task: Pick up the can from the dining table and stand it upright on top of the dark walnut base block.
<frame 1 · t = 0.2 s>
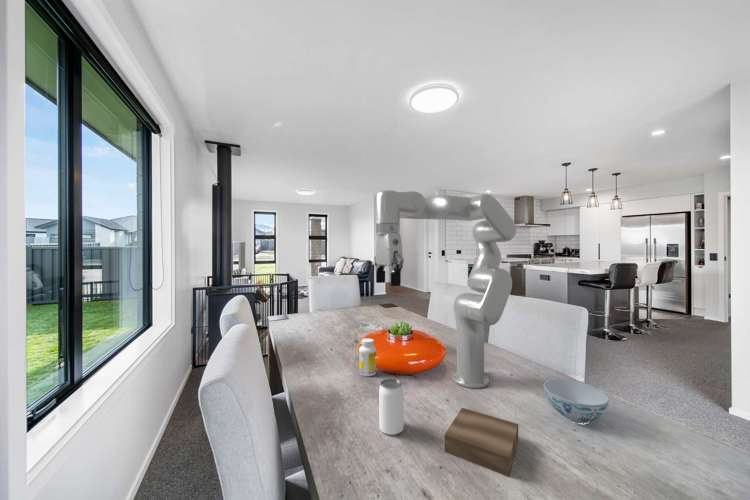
hand: (387, 284, 92), 37 cm above the table, tool pointing down, fingers open, 9 cm apart
chinaware: (574, 418, 81), on the table
can: (391, 429, 77), on the table
supplement bottle: (367, 373, 111), on the table
base: (482, 445, 70), on the table
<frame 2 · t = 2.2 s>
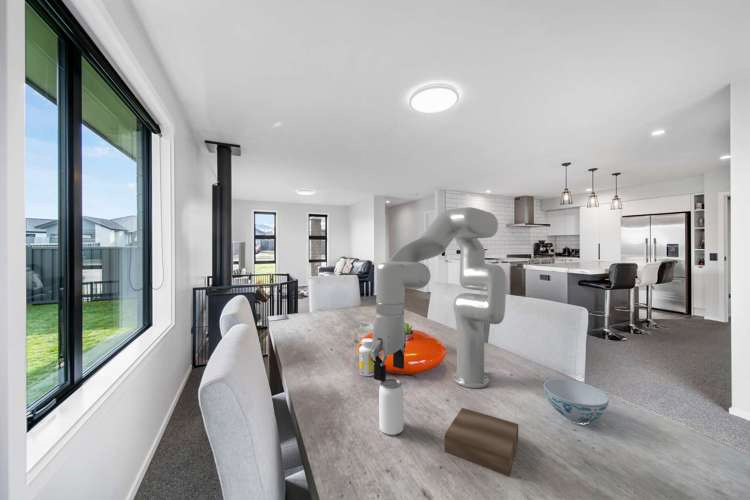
hand: (389, 373, 77), 15 cm above the table, tool pointing down, fingers open, 9 cm apart
nothing on the table moved.
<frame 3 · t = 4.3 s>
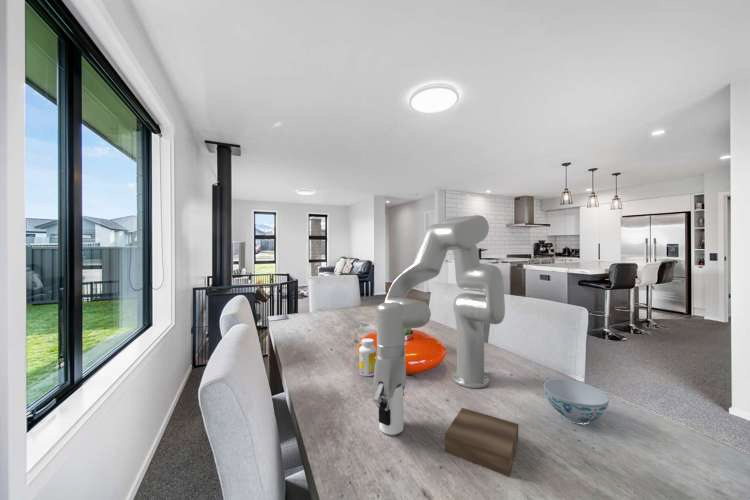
hand: (391, 416, 77), 3 cm above the table, tool pointing down, fingers closed on can, 6 cm apart
can: (391, 429, 77), on the table, touching gripper
everything else where it was.
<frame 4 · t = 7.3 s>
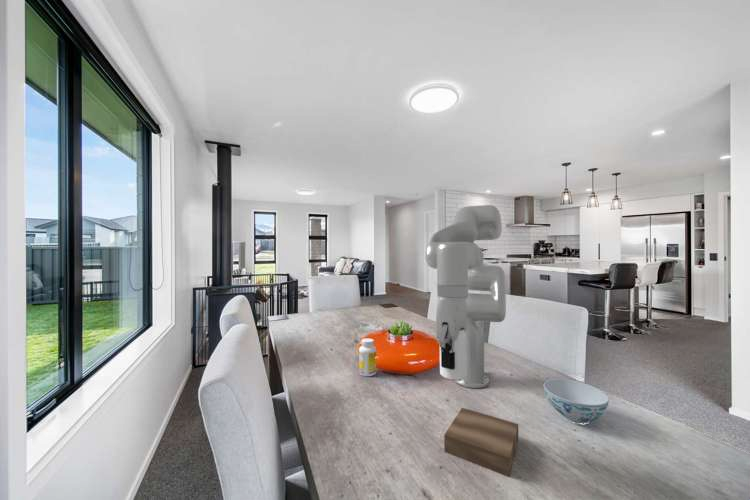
hand: (453, 362, 72), 19 cm above the table, tool pointing down, fingers closed on can, 6 cm apart
can: (453, 376, 72), point 16 cm above the table, touching gripper
everything else where it was.
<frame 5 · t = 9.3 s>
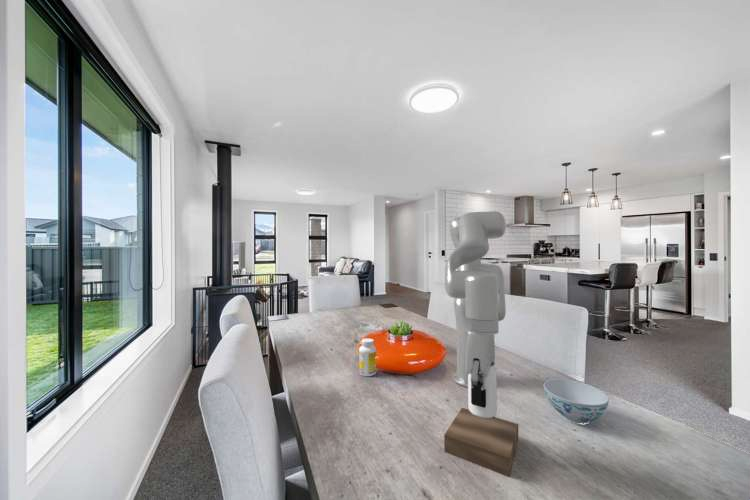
hand: (482, 398, 70), 11 cm above the table, tool pointing down, fingers closed on can, 6 cm apart
can: (482, 412, 70), point 8 cm above the table, touching gripper
everything else where it was.
when the fingers open (8 cm above the table, at t = 10.8 s): can drops 1 cm, resting on base.
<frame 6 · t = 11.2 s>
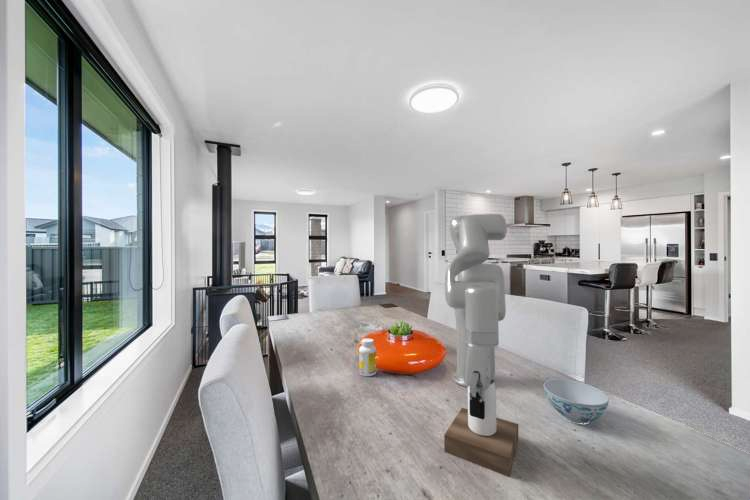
hand: (482, 407, 70), 9 cm above the table, tool pointing down, fingers open, 9 cm apart
can: (482, 429, 70), point 4 cm above the table, touching base
everything else where it was.
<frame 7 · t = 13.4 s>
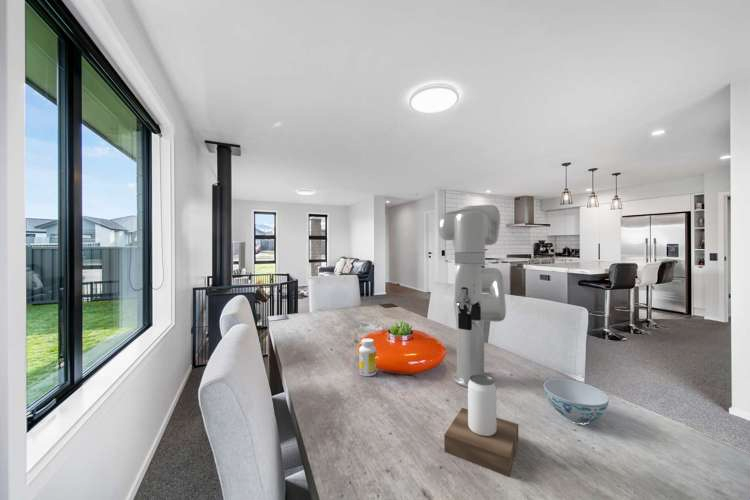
hand: (470, 324, 76), 28 cm above the table, tool pointing down, fingers open, 9 cm apart
nothing on the table moved.
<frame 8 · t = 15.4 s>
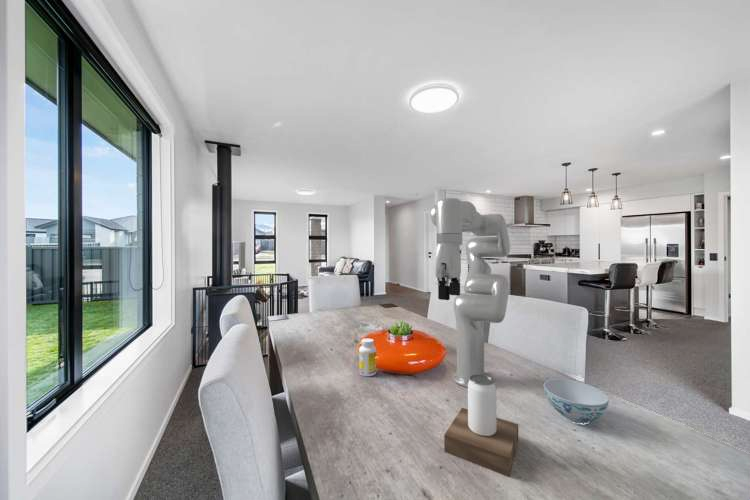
hand: (449, 297, 86), 33 cm above the table, tool pointing down, fingers open, 9 cm apart
nothing on the table moved.
at the end: can inside the target area on the base (0.1 cm from its centre), point 3.8 cm above the base's base; can tilted 0°; the gripper is holding nothing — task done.
